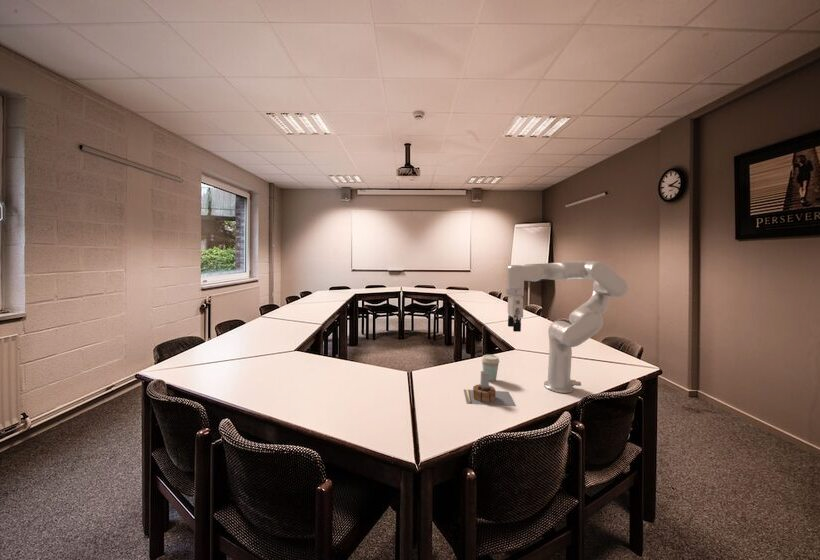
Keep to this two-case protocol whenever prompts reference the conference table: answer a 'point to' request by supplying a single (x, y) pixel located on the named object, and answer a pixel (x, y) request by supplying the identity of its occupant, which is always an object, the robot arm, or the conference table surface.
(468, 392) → the mat
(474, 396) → the brown wooden ring
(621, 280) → the robot arm
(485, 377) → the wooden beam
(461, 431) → the conference table surface
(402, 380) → the conference table surface
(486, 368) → the coffee cup
